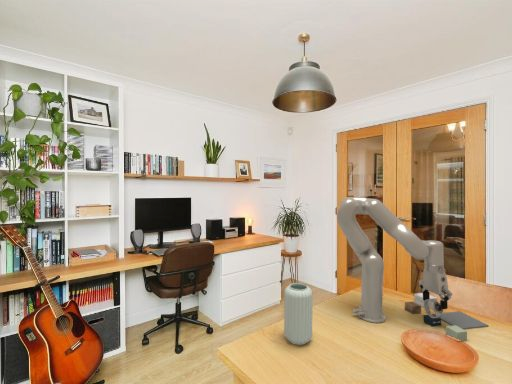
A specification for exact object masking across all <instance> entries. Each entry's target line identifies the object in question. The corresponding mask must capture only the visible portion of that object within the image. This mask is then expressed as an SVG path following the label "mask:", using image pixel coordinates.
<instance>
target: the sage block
mask: <svg viewBox="0 0 512 384" xmlns="http://www.w3.org/2000/svg"><path fill="white" fill-rule="evenodd" d="M446 335H449V336H451V337H454V338H456V339H459V340H461V341H460V342H465V341H467V340H468V331H467V330H466V329H462V328H460V327H458V326H456V325H454V326H451V325H448V326H447V325H446V326H445V336H446Z"/></svg>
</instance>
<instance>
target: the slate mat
mask: <svg viewBox="0 0 512 384" xmlns="http://www.w3.org/2000/svg"><path fill="white" fill-rule="evenodd" d="M433 314H434V315H436V314H435V313H433ZM436 316H437V315H436ZM440 318H441V322H444V323H446V324H447V325H448V326H454V325H456V326H458V327H460V328H462V329H464V330H470V329H471V330H472V329H478V328H487V327H489V324H486V323H485V322H483V321H481V320H478V319H477V318H475V317H472V316H470V315H468V314H467V313H465V312H462V311H460V310H458V311H448V312H442V315H441V316H440Z"/></svg>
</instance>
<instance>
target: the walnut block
mask: <svg viewBox="0 0 512 384" xmlns="http://www.w3.org/2000/svg"><path fill="white" fill-rule="evenodd" d="M404 311H406V312H408V313H410V314H412V315H417V314H419V315H420V314H421V313H422V306H421V305H419V304H417V303H415V302H414V301H405V302H404Z"/></svg>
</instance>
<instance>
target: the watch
mask: <svg viewBox="0 0 512 384" xmlns="http://www.w3.org/2000/svg"><path fill="white" fill-rule="evenodd" d="M428 301H431V304H432V308H429V305H428ZM423 308H424V311H425V313H426V314H424V315H423V318H422V319H423V320H422V321H423V323H424V324H425V325H428V326H430V327H431V328H432V327H437V326H442V320H441V318H440V316H441V315H442V313H444V309H443V310H442V309H441V308H440V302H439V301H438V300H437V301H436V300H434V299H427V300H425V301H424V307H423ZM430 309H431V310H432V311H433V313H432V311H431V310H430ZM434 314H436V315H437V316H436V315H434Z"/></svg>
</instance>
